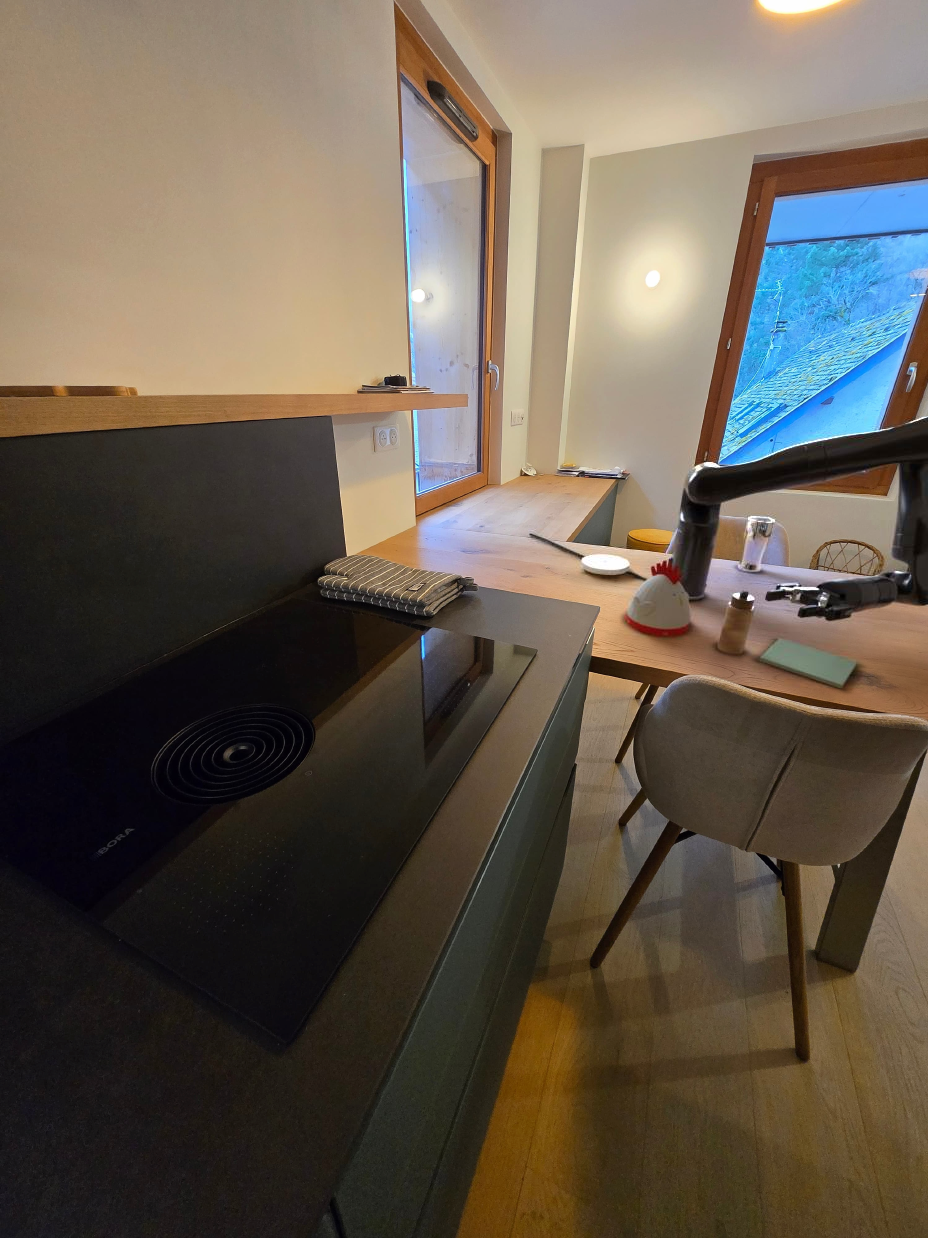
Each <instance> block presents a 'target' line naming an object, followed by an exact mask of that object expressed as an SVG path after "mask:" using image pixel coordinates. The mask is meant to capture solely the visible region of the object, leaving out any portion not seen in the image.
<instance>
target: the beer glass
mask: <svg viewBox="0 0 928 1238" xmlns="http://www.w3.org/2000/svg"><path fill="white" fill-rule="evenodd" d="M775 521H776V520H775V519H773V518H771V517H766V516H750V517H748V520H747V523H746V526H745V528H744V532H743V537H742V554H741V558H740V560H739V562H738V565H737V569H739V570H740V571H743V572H746V573H759V572H761V569H762V560H763V557H764V555H765V553H766V551H767V548H768V546H769V545H770V542H771V540H772V536H773V532H774V527H775Z"/></svg>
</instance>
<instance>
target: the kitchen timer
mask: <svg viewBox="0 0 928 1238" xmlns="http://www.w3.org/2000/svg"><path fill="white" fill-rule="evenodd" d="M678 568H679V566H675V567H674V569H673V571H672V562H670V563H668V561H667V560H665V559H664V560H662V563H661V562H657V563H656V567H655V565H651V566H650V571H651V577H649V578H647V579H648V580H646V581H645V580H644V581H643V582H642V584H640V585H639V586H638V588H637V590H636V591H635V593H634V594H633V596H632V598H631V600H630V602H629V604H628V606H627V610H626V616H625V620H626V622H627V624H628V625H629V626H631V627H632V628H633V629H635V630H637V631H639V632H642V633H645V634H650V635H655V636H666V637H667V636H668V637H669V636H670V637H671V636H679V635H681V634H684V633H685V632H687V631H688V630H689V627H690V622H691V610H690V609H691V608H690V602H689V601H690V600H689V595H688V593H687V592H685V590H684V588H683V586H682V585H681V584H680V582H679V579H680V578H681V577H682V575H683V573H681V574H679V575H678Z"/></svg>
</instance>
